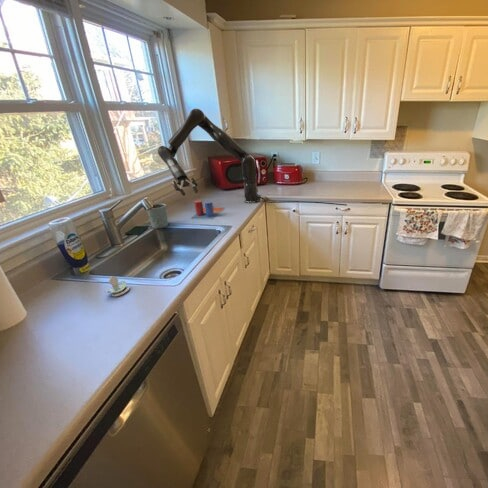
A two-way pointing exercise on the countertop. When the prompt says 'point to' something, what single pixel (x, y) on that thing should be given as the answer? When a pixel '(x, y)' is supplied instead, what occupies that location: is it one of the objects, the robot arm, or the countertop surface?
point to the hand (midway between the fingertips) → (190, 193)
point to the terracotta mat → (215, 209)
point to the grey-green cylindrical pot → (158, 216)
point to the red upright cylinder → (199, 208)
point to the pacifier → (117, 287)
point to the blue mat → (204, 216)
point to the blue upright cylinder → (209, 209)
